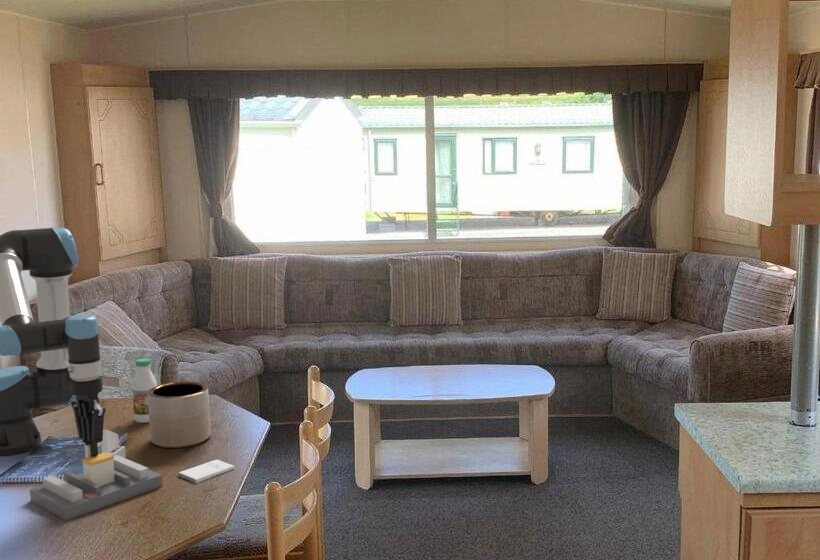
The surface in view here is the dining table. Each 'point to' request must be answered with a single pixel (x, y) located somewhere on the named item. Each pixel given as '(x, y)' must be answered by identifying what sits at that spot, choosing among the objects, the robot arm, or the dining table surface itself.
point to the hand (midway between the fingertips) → (92, 467)
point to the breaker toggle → (99, 469)
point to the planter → (179, 414)
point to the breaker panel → (93, 489)
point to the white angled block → (112, 444)
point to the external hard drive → (205, 471)
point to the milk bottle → (142, 390)
